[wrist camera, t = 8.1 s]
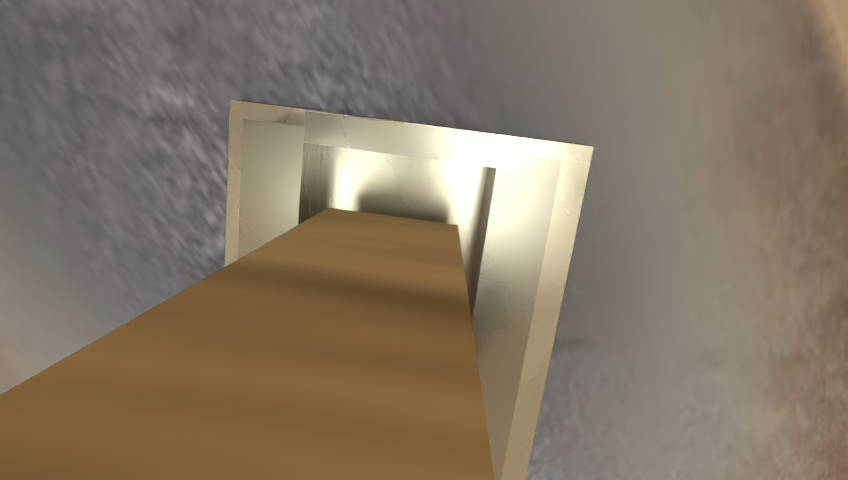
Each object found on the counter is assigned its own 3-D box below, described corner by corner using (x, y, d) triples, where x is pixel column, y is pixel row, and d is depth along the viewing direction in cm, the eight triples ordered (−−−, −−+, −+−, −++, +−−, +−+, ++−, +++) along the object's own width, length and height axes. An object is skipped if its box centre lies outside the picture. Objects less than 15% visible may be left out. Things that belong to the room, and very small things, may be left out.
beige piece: (235, 100, 14) (189, 91, 11) (589, 146, 14) (621, 147, 11) (221, 506, 17) (183, 569, 15) (507, 549, 17) (518, 620, 15)
